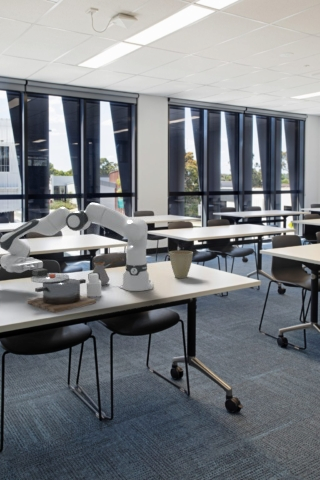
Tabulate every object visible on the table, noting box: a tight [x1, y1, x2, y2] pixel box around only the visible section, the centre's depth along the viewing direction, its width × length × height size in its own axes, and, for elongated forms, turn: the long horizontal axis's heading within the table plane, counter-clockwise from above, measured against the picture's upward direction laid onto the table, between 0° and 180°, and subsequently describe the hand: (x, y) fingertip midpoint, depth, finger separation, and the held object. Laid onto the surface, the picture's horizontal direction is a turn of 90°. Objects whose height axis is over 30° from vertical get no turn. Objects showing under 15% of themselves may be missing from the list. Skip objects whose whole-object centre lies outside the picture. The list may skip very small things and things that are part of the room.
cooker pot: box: [34, 278, 87, 305], centre depth 227 cm, size 18×28×9 cm, turn 136°
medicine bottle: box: [86, 271, 102, 298], centre depth 243 cm, size 7×7×12 cm
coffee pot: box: [92, 256, 125, 287], centre depth 270 cm, size 21×12×15 cm, turn 120°
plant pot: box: [168, 250, 194, 279], centre depth 288 cm, size 15×15×16 cm
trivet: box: [27, 294, 97, 314], centre depth 228 cm, size 24×24×2 cm
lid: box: [30, 267, 70, 284], centre depth 234 cm, size 22×19×3 cm
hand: (31, 268), depth 245 cm, fingers closed
